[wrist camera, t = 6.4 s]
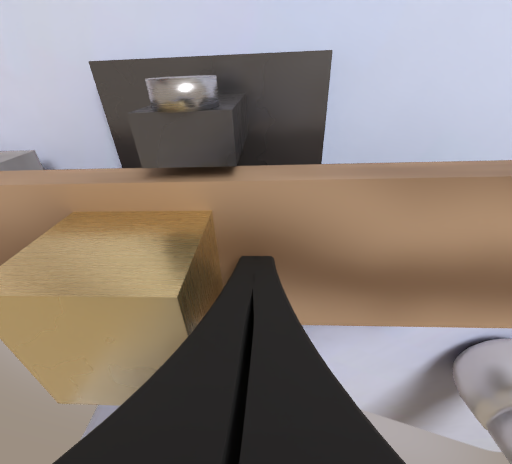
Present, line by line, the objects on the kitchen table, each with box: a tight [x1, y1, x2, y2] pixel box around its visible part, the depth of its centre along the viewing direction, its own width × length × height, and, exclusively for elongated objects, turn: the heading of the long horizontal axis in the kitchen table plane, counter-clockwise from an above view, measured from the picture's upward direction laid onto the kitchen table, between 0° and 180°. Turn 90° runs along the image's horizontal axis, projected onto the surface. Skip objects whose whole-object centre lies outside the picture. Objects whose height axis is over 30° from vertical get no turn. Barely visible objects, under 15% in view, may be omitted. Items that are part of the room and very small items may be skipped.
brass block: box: [0, 211, 223, 406], centre depth 9 cm, size 5×5×4 cm
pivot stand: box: [89, 50, 332, 168], centre depth 13 cm, size 14×10×6 cm
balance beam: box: [0, 150, 512, 328], centre depth 12 cm, size 7×30×4 cm, turn 92°
